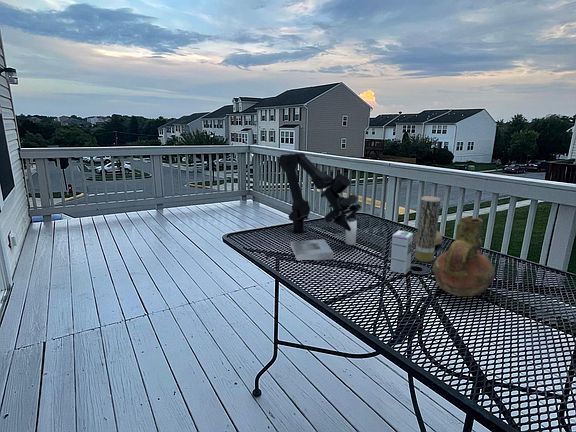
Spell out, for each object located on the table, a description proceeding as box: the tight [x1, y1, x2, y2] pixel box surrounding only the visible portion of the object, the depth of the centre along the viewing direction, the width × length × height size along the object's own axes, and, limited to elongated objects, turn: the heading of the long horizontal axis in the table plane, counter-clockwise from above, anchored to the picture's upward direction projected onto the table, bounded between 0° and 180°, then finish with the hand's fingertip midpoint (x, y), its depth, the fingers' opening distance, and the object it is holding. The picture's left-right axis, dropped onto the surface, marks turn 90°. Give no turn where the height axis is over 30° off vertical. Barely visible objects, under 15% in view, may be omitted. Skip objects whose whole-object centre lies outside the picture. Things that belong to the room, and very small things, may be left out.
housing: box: [290, 238, 334, 262], centre depth 136 cm, size 15×15×3 cm
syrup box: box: [389, 229, 414, 275], centre depth 118 cm, size 6×6×14 cm
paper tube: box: [414, 195, 442, 263], centre depth 125 cm, size 7×7×25 cm
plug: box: [344, 218, 358, 246], centre depth 138 cm, size 4×4×11 cm
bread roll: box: [414, 230, 443, 246], centre depth 141 cm, size 10×15×8 cm, turn 132°
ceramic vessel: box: [432, 216, 496, 297], centre depth 102 cm, size 17×26×25 cm, turn 141°
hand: (353, 229), depth 137 cm, fingers closed on plug, 4 cm apart
